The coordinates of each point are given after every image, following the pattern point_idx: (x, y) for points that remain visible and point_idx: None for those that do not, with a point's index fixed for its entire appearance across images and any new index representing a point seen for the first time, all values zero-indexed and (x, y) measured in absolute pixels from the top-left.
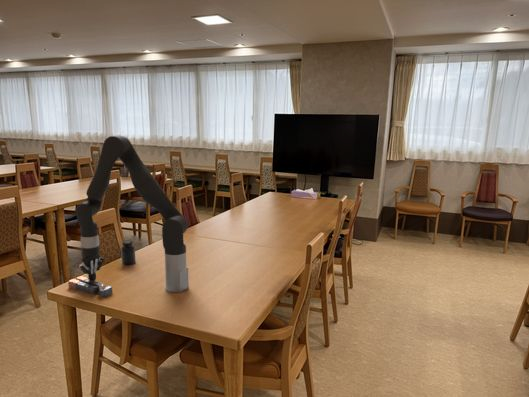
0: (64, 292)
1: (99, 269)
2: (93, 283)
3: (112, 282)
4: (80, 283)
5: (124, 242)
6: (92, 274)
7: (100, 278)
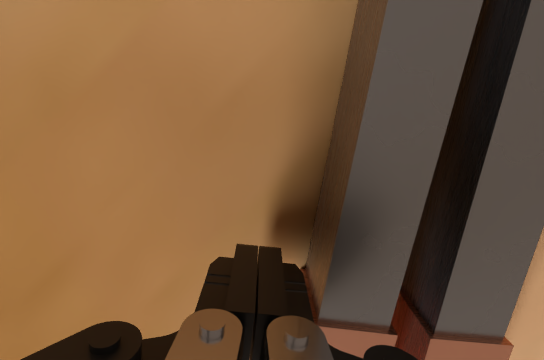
0: (529, 340)
1: (87, 329)
2: (442, 111)
3: (112, 50)
4: (491, 291)
5: None
6: (284, 314)
7: (101, 280)
